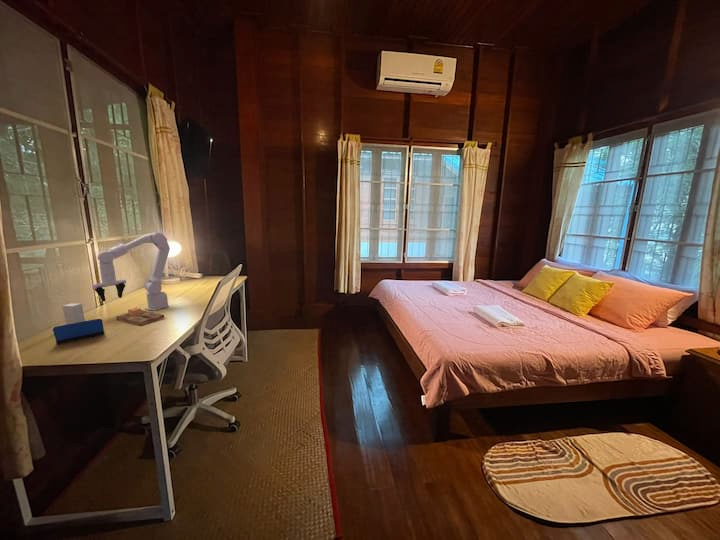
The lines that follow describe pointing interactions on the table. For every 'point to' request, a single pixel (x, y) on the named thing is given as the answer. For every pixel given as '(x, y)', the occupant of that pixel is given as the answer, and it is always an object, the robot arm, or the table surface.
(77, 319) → the skincare box
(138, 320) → the socket block
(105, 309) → the table surface
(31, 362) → the table surface
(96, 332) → the blue box
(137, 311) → the square bit
